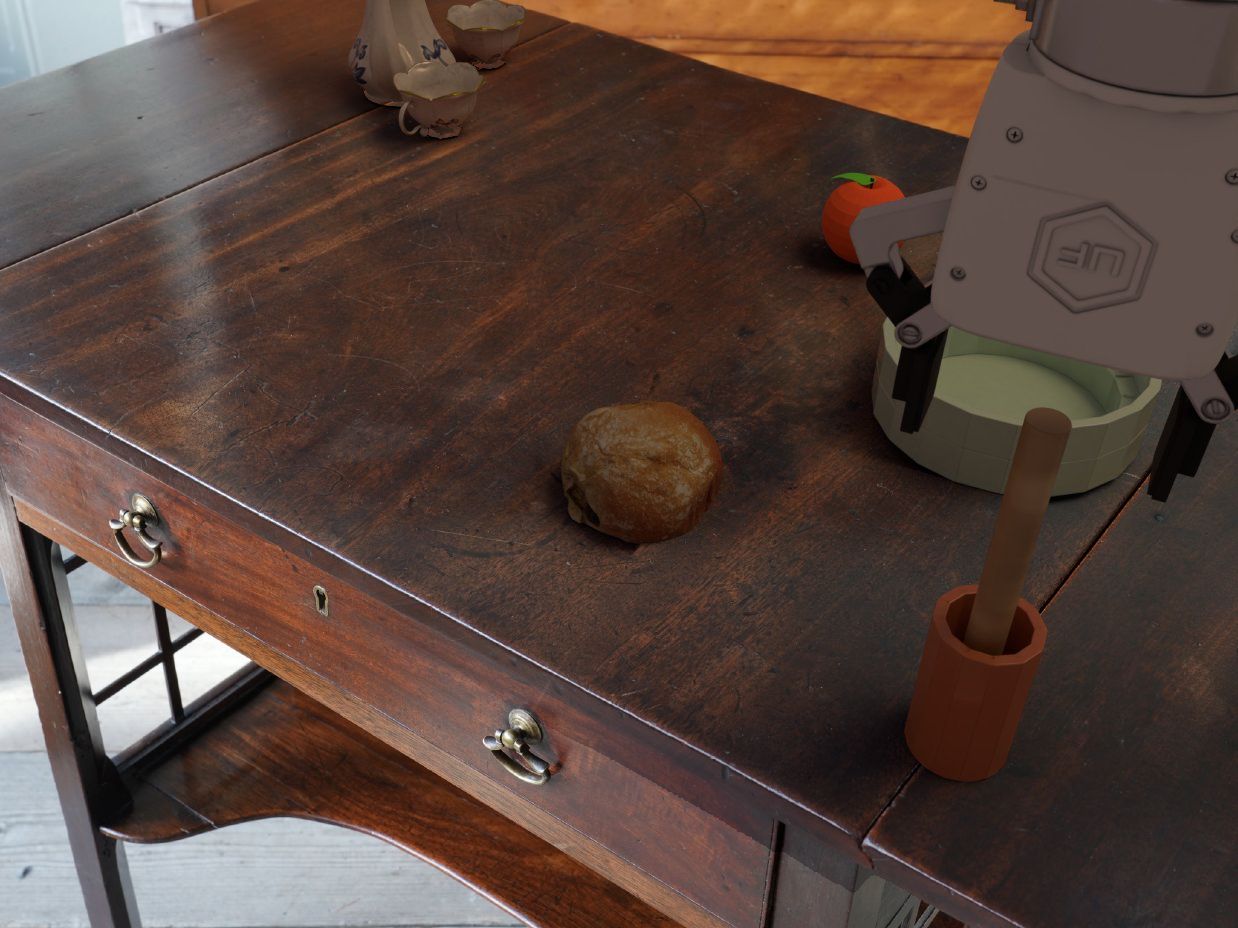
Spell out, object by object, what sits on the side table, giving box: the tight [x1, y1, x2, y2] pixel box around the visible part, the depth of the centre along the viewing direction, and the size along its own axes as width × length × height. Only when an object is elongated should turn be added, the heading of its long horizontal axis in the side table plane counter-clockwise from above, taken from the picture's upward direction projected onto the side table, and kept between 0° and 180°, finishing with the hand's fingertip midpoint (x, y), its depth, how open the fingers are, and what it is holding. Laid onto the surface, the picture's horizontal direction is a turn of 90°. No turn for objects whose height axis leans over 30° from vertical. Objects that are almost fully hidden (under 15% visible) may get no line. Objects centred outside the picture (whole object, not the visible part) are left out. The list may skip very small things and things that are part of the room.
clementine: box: [819, 172, 906, 266], centre depth 97 cm, size 8×7×7 cm
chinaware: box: [347, 0, 527, 137], centre depth 119 cm, size 28×17×17 cm, turn 176°
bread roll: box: [560, 400, 724, 545], centre depth 75 cm, size 10×10×8 cm
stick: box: [963, 407, 1072, 656], centre depth 54 cm, size 3×2×20 cm, turn 66°
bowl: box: [871, 316, 1163, 498], centre depth 80 cm, size 17×17×6 cm
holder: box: [903, 583, 1049, 782], centre depth 58 cm, size 5×5×9 cm
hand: (1034, 446), depth 49 cm, fingers open, 9 cm apart
